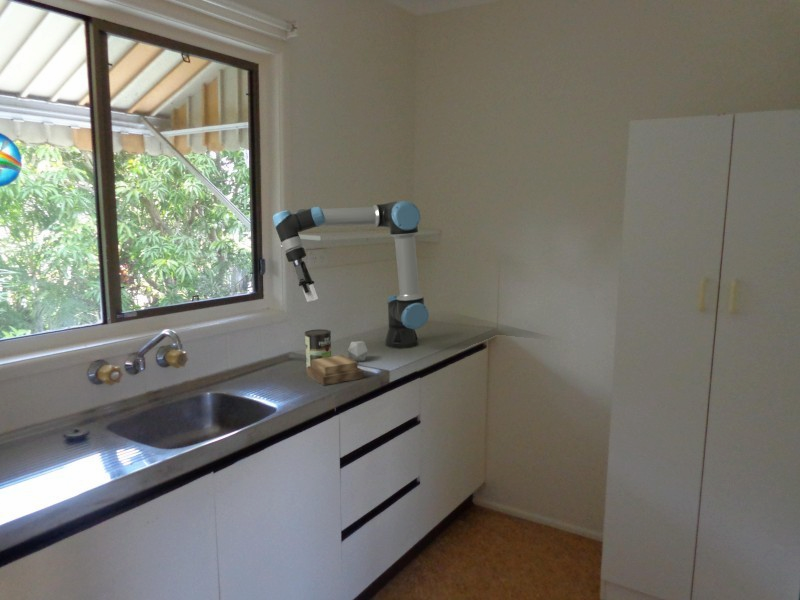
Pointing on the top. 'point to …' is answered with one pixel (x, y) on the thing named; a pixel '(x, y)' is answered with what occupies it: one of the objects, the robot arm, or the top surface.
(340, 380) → the tower base
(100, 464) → the top surface
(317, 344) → the coffee can
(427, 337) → the top surface
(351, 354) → the die
